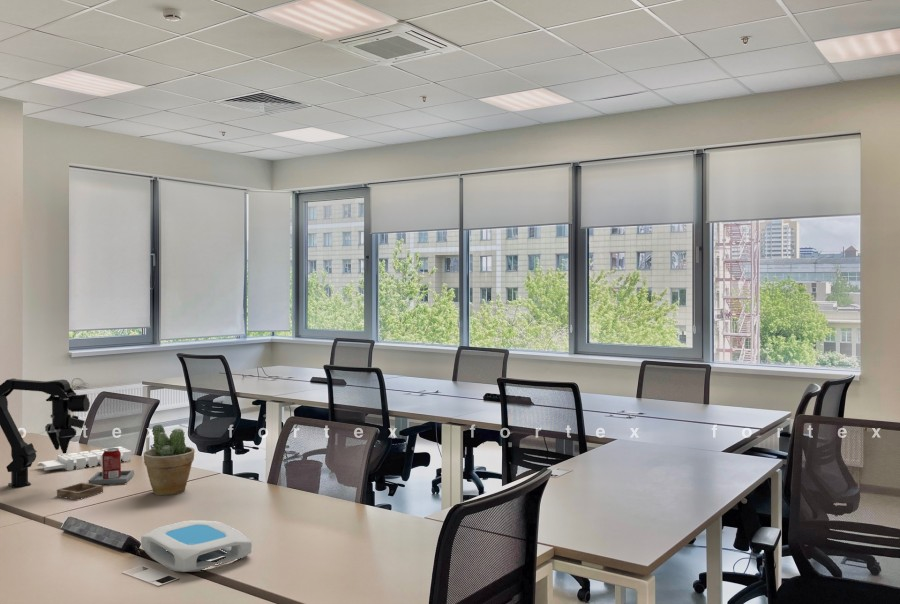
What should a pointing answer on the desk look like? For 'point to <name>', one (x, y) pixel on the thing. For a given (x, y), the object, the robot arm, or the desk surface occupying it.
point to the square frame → (88, 491)
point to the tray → (123, 479)
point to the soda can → (111, 463)
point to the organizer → (81, 459)
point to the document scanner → (194, 544)
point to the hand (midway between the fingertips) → (60, 451)
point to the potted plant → (168, 461)
